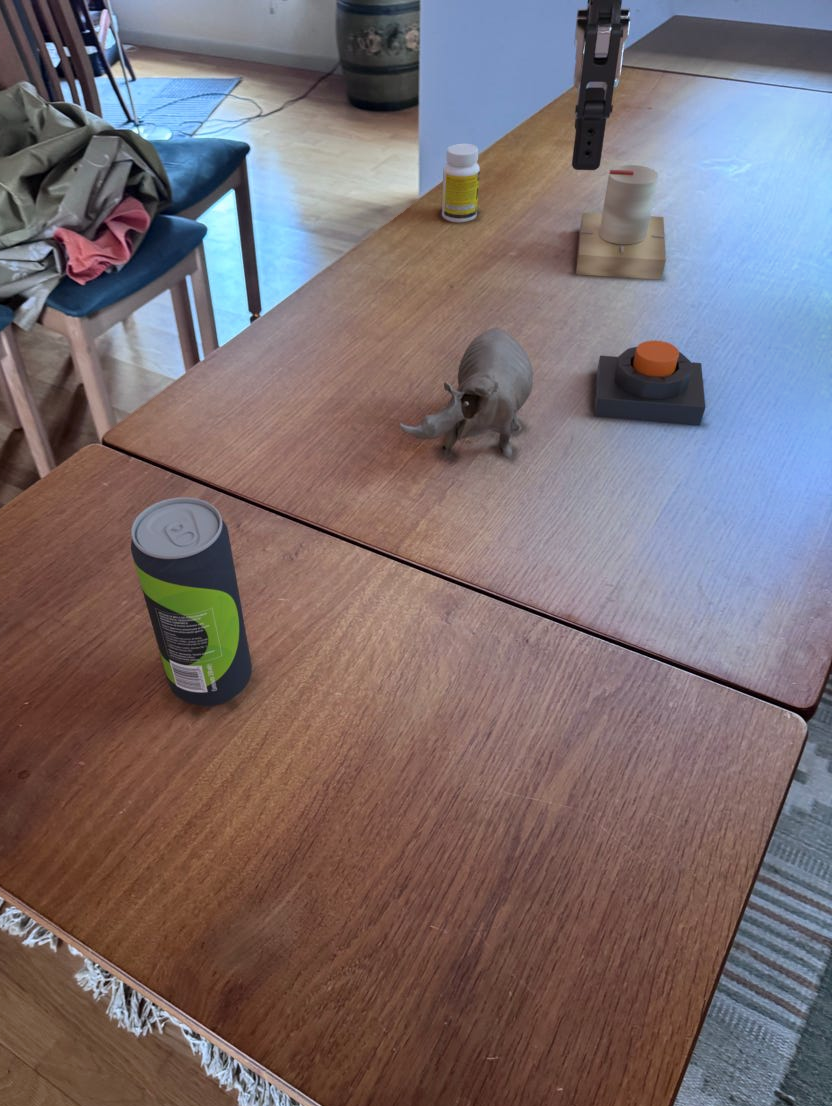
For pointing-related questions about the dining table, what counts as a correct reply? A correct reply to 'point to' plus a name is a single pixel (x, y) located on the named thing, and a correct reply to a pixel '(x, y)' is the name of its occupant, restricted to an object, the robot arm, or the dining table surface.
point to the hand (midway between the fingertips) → (586, 148)
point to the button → (655, 358)
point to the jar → (628, 204)
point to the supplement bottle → (460, 183)
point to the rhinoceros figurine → (483, 393)
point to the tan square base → (620, 251)
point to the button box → (649, 391)
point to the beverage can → (192, 599)
